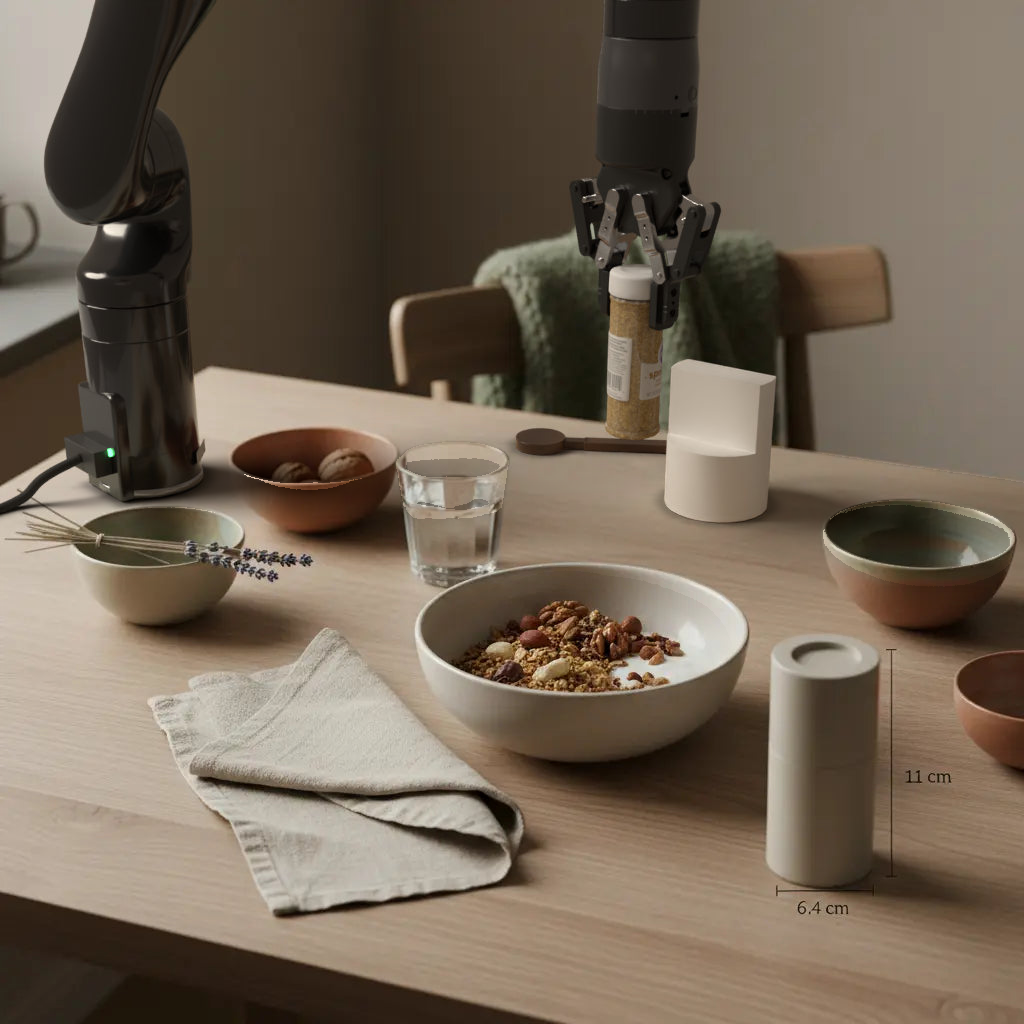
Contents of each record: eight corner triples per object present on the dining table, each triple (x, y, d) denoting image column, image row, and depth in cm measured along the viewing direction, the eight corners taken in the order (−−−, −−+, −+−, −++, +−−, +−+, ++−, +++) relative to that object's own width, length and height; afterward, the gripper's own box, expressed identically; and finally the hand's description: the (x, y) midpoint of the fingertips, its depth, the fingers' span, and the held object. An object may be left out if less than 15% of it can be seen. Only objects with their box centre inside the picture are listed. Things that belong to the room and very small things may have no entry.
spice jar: (665, 440, 121) (674, 275, 115) (609, 442, 120) (616, 277, 115) (652, 421, 125) (661, 261, 119) (598, 423, 124) (604, 262, 119)
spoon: (698, 442, 147) (698, 433, 146) (699, 460, 142) (700, 450, 142) (517, 436, 148) (517, 427, 148) (513, 454, 144) (513, 444, 143)
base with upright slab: (645, 506, 132) (650, 375, 127) (695, 475, 139) (701, 350, 134) (737, 530, 127) (746, 395, 122) (784, 497, 134) (794, 368, 129)
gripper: (544, 92, 114) (539, 310, 121) (686, 114, 105) (673, 351, 112) (612, 83, 119) (604, 294, 126) (755, 105, 109) (738, 332, 116)
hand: (637, 320), depth 119 cm, fingers closed on spice jar, 4 cm apart
